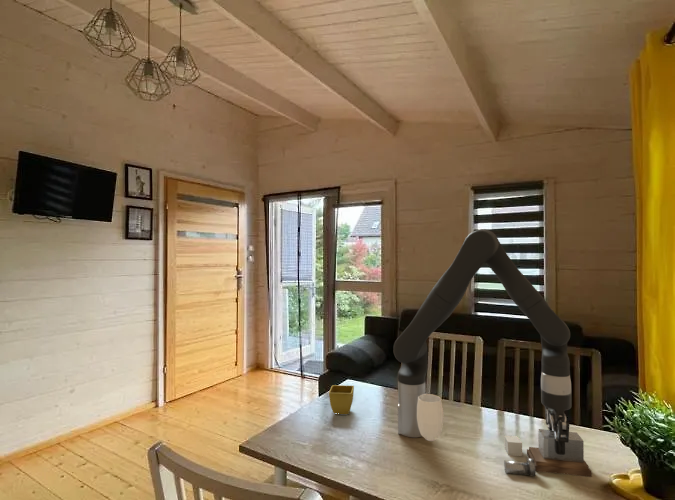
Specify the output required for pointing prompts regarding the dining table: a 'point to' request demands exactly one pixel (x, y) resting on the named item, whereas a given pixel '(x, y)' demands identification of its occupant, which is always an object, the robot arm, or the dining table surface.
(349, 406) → the flower pot
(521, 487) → the dining table surface
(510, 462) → the bolt
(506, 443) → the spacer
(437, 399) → the cup
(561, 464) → the stand
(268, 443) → the dining table surface
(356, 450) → the dining table surface
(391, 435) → the dining table surface
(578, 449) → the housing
